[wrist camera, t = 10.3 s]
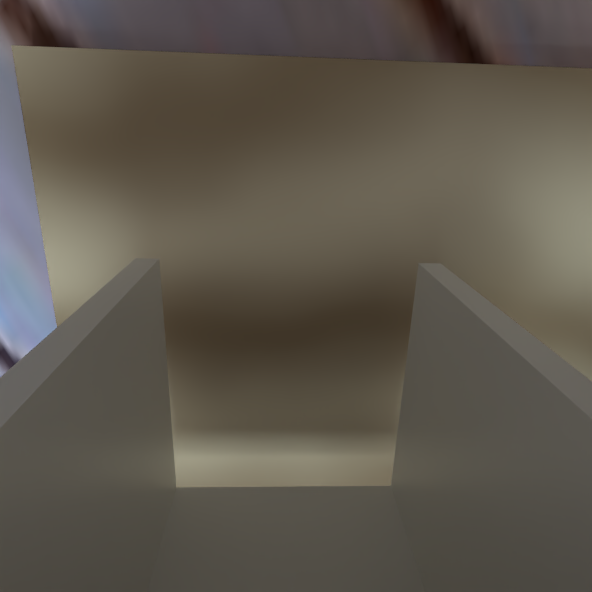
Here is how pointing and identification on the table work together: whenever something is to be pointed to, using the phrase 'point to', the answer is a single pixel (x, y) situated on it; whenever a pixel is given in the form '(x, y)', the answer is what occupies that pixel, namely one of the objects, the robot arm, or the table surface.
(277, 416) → the birch board
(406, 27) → the table surface
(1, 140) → the table surface
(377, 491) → the box
